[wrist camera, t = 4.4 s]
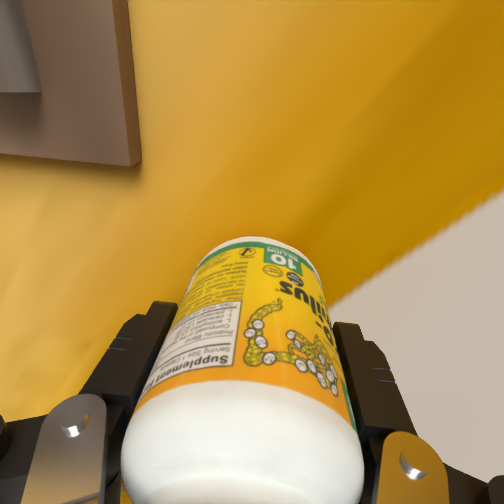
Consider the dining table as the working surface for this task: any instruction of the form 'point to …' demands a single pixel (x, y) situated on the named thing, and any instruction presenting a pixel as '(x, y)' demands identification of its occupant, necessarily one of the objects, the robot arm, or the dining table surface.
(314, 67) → the dining table surface
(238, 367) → the supplement bottle
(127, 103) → the socket holder
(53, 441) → the robot arm
